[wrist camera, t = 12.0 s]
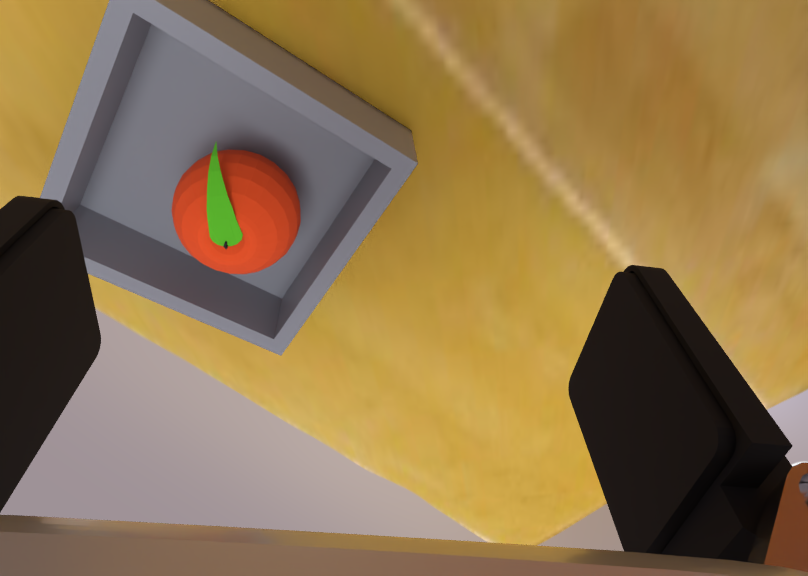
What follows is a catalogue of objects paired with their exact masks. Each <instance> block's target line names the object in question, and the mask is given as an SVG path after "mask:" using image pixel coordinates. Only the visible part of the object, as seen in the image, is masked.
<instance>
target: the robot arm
mask: <svg viewBox="0 0 808 576" xmlns="http://www.w3.org/2000/svg"><path fill="white" fill-rule="evenodd" d="M100 344H101V335H100V330H99V325H98V320H97V316H96V311H95V306H94V301H93V297H92V292H91V287H90V283H89V278H88V273H87V269H86V264H85V259H84V255H83V250H82V245H81V240H80V236H79V231H78V226H77V222H76V218H75V215H74V214H73V212H72V211H70V210H65V208H64V206H63V205H62V203H61V202H59V201H58V200H52V199H43V198H34V197H26V196H17V197H15V198H13V199H12V200H11V201H10V202H8V203H7V204H6V205H5V206H4V207H2V208H1V209H0V512H1V510H2V509H3V507H4V505H5V504H6V502H7V501H8V499H9V497H10V496H11V494H12V493H13V491H14V489H15V488H16V486H17V484H18V483H19V481H20V480H21V478H22V476H23V475H24V473H25V471H26V470H27V468H28V467H29V465H30V463H31V462H32V460H33V459H34V457H35V455H36V454H37V452H38V450H39V449H40V447H41V445H42V444H43V442H44V441H45V439H46V437H47V436H48V434H49V433H50V431H51V430H52V428H53V426H54V425H55V423H56V421H57V420H58V418H59V417H60V415H61V413H62V412H63V410H64V408H65V407H66V405H67V404H68V402H69V400H70V399H71V397H72V396H73V394H74V392H75V391H76V389H77V388H78V386H79V384H80V383H81V381H82V379H83V378H84V376H85V374H86V373H87V371H88V370H89V368H90V367H91V365H92V363H93V362H94V360H95V358H96V357H97V355H98V352H99V349H100ZM569 396H570V400H571V403H572V406H573V408H574V411H575V414H576V417H577V420H578V422H579V425H580V428H581V431H582V434H583V437H584V439H585V442H586V445H587V448H588V451H589V453H590V456H591V459H592V462H593V465H594V468H595V470H596V473H597V476H598V479H599V482H600V484H601V487H602V490H603V493H604V496H605V499H606V501H607V504H608V507H609V510H610V513H611V515H612V518H613V521H614V524H615V527H616V530H617V532H618V535H619V538H620V541H621V544H622V546H623V549H624V551H610V550H594V549H580V548H563V547H549V546H534V545H518V544H503V543H487V542H486V543H485V542H471V541H456V540H440V539H424V538H407V537H391V536H390V537H389V536H374V535H357V534H340V533H323V532H306V531H289V530H272V529H255V528H237V527H220V526H201V525H184V524H166V523H165V524H164V523H147V522H128V521H111V520H92V519H74V518H54V517H53V518H52V517H37V516H17V515H0V576H808V463H800V464H798V465H796V466H793V467H792V465H791V464H790V463H789V461H788V460H787V458H786V457H785V455H786V453H787V452H788V451H789V450H790V449H791V447H792V445H791V443H790V442H789V440H788V439H787V438H786V437H785V435H784V434H783V432H782V431H781V429H780V428H779V427H778V425H777V424H776V422H775V421H774V420H773V418H772V417H771V416H770V414H769V413H768V411H767V410H766V409H765V407H764V406H763V404H762V403H761V402H760V400H759V399H758V398H757V396H756V395H755V393H754V392H753V391H752V389H751V388H750V386H749V385H748V384H747V382H746V381H745V379H744V378H743V377H742V375H741V374H740V373H739V371H738V370H737V368H736V367H735V366H734V364H733V363H732V361H731V360H730V359H729V357H728V356H727V355H726V353H725V352H724V350H723V349H722V348H721V346H720V345H719V343H718V342H717V341H716V339H715V338H714V337H713V335H712V334H711V332H710V331H709V330H708V328H707V327H706V325H705V324H704V323H703V321H702V320H701V319H700V317H699V316H698V314H697V313H696V312H695V310H694V309H693V307H692V306H691V305H690V303H689V302H688V301H687V299H686V298H685V296H684V295H683V294H682V292H681V291H680V289H679V288H678V287H677V285H676V284H675V283H674V281H673V280H672V278H671V277H670V276H669V274H668V273H667V272H666V271H665V270H664V269H661V268H654V267H645V266H636V265H631V266H628V267H627V268H626V269H625V270H624V272H618V273H617V274H616V275H615V276H614V278H613V280H612V282H611V284H610V287H609V289H608V291H607V294H606V296H605V298H604V301H603V303H602V305H601V308H600V310H599V312H598V315H597V317H596V319H595V321H594V324H593V326H592V328H591V331H590V333H589V335H588V338H587V340H586V342H585V345H584V347H583V349H582V352H581V354H580V356H579V359H578V361H577V363H576V366H575V368H574V370H573V373H572V375H571V377H570V381H569Z"/></svg>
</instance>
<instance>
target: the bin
mask: <svg viewBox="0 0 808 576" xmlns="http://www.w3.org/2000/svg"><path fill="white" fill-rule="evenodd" d="M216 142H217V152H218V151H222V150H227V149H229V150H246V151H250V152H253V153H256V154H260V155H262V156H264V157H265V158H267V159H269V160H271V161H272V162H274V163H275V164H276V165H277V166H278V167H279V168H280V169H281V170H283V171H284V172H285V173H286V174H287V175H288V177H289V179H290V180H291V182H292V183H293V185H294V186H295V188H296V191H297V195H298V198H299V201H300V216H301V223H300V227H299V230H298V234H297V236H296V239H295V241H294V243H293V244H292V246H291V247H290V249H289V250H288V252H287V253H286V254H285V255H284V256H283V257H282V258H281V259H279V260H278V261H277V262H276V263H274V264H273V265H271V266H269V267H267V268H265V269H263V270H261V271H258V272H254V273H249V274H229V273H225V272H221V271H217V270H214V269H212V268H210V267H208V266H206V265H204V264H202V263H201V262H199V261H198V260H197V259H195V258H194V257H193V256H192V255H191V254H190V253H189V252H188V251H187V250H186V248H185V247H184V246H183V245H182V243H181V241H180V239H179V237H178V235H177V233H176V230H175V227H174V223H173V217H172V211H171V210H172V203H173V196H174V192H175V189H176V186H177V184H178V183H179V181H180V179H181V177H182V175H183V174H184V173H185V172H186V171H187V170H188V169H189V168H190V167H191V166H192V165H193V164H194V163H195V162H196V161H198V160H199V159H201V158H203V157H205V156H207V155H208V154H210V153H212V152H213V149H214V146H215V143H216ZM417 164H418V161H417V156H416V152H415V147H414V142H413V137H412V132H411V130H409V129H408V128H406V127H405V126H403V125H402V124H400V123H398V122H397V121H395V120H394V119H392V118H391V117H389V116H388V115H386V114H384V113H383V112H381V111H380V110H378V109H377V108H375V107H374V106H372V105H370V104H369V103H367V102H366V101H364V100H363V99H361V98H360V97H358V96H356V95H355V94H353V93H352V92H350V91H349V90H347V89H346V88H344V87H342V86H341V85H339V84H338V83H336V82H335V81H333V80H332V79H330V78H328V77H327V76H325V75H324V74H322V73H321V72H319V71H318V70H316V69H314V68H313V67H311V66H310V65H308V64H307V63H305V62H304V61H302V60H300V59H299V58H297V57H296V56H294V55H293V54H291V53H290V52H288V51H286V50H285V49H283V48H282V47H280V46H279V45H277V44H276V43H274V42H272V41H271V40H269V39H268V38H266V37H265V36H263V35H262V34H260V33H258V32H257V31H255V30H254V29H252V28H251V27H249V26H248V25H246V24H244V23H243V22H241V21H240V20H238V19H237V18H235V17H234V16H232V15H230V14H229V13H227V12H226V11H224V10H223V9H221V8H220V7H218V6H216V5H215V4H213V3H212V2H210V1H209V0H109V3H108V6H107V9H106V12H105V15H104V17H103V20H102V23H101V26H100V29H99V32H98V34H97V37H96V40H95V43H94V46H93V49H92V51H91V54H90V57H89V60H88V63H87V66H86V69H85V71H84V74H83V77H82V80H81V83H80V86H79V88H78V91H77V94H76V97H75V100H74V103H73V106H72V108H71V111H70V114H69V117H68V120H67V123H66V125H65V128H64V131H63V134H62V137H61V140H60V142H59V145H58V148H57V151H56V154H55V157H54V160H53V162H52V165H51V168H50V171H49V174H48V177H47V179H46V182H45V185H44V188H43V191H42V194H41V196H40V198H43V199H52V200H58V201H59V202H61V203H62V205H63V206H64V208H65V210H70V211H72V212H73V214H74V215H75V218H76V222H77V226H78V231H79V236H80V240H81V245H82V250H83V255H84V259H85V264H86V269H87V273H88V274H90V275H93V276H95V277H97V278H100V279H102V280H105V281H107V282H109V283H112V284H114V285H116V286H119V287H121V288H123V289H126V290H128V291H130V292H133V293H135V294H137V295H140V296H142V297H144V298H147V299H149V300H152V301H154V302H156V303H159V304H161V305H163V306H166V307H168V308H170V309H173V310H175V311H177V312H180V313H182V314H184V315H187V316H189V317H191V318H194V319H196V320H198V321H201V322H203V323H206V324H208V325H210V326H213V327H215V328H217V329H220V330H222V331H224V332H227V333H229V334H231V335H234V336H236V337H238V338H241V339H243V340H245V341H248V342H250V343H252V344H255V345H257V346H260V347H262V348H264V349H267V350H269V351H271V352H274V353H276V354H278V355H282V354H283V352H284V351H285V349H286V348H287V347H288V345H289V344H290V342H291V341H292V340H293V338H294V337H295V335H296V334H297V333H298V331H299V330H300V328H301V327H302V326H303V324H304V323H305V321H306V320H307V318H308V317H309V316H310V314H311V313H312V311H313V310H314V309H315V307H316V306H317V304H318V303H319V302H320V300H321V299H322V297H323V296H324V295H325V293H326V292H327V290H328V289H329V288H330V286H331V285H332V283H333V282H334V281H335V279H336V278H337V276H338V275H339V274H340V272H341V271H342V269H343V268H344V267H345V265H346V264H347V262H348V261H349V260H350V258H351V257H352V255H353V254H354V253H355V251H356V250H357V248H358V247H359V245H360V244H361V243H362V241H363V240H364V238H365V237H366V236H367V234H368V233H369V231H370V230H371V229H372V227H373V226H374V224H375V223H376V222H377V220H378V219H379V217H380V216H381V215H382V213H383V212H384V210H385V209H386V208H387V206H388V205H389V203H390V202H391V201H392V199H393V198H394V196H395V195H396V194H397V192H398V191H399V189H400V188H401V187H402V185H403V184H404V182H405V181H406V180H407V178H408V177H409V175H410V174H411V173H412V171H413V170H414V168H415V167H416V165H417Z"/></svg>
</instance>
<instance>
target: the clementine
mask: <svg viewBox="0 0 808 576" xmlns="http://www.w3.org/2000/svg"><path fill="white" fill-rule="evenodd" d="M171 211H172V217H173V223H174V227H175V230H176V233H177V235H178V237H179V239H180V241H181V243H182V245H183V246H184V247H185V248H186V250H187V251H188V252H189V253H190V254H191V255H192V256H193V257H194V258H195V259H197V260H198V261H199V262H201V263H202V264H204V265H206V266H208V267H210V268H212V269H214V270H217V271H221V272H225V273H229V274H249V273H254V272H258V271H261V270H263V269H265V268H267V267H269V266H271V265H273V264H274V263H276V262H277V261H278V260H279V259H281V258H282V257H283V256H284V255H285V254H286V253H287V252H288V250H289V249H290V247H291V246H292V244H293V243H294V241H295V239H296V236H297V234H298V230H299V227H300V223H301V216H300V201H299V198H298V195H297V191H296V188H295V186H294V185H293V183H292V182H291V180H290V179H289V177H288V175H287V174H286V173H285V172H284V171H283V170H281V169H280V168H279V167H278V166H277V165H276V164H275V163H274V162H272V161H271V160H269V159H267V158H265V157H264V156H262V155H260V154H256V153H253V152H250V151H246V150H229V149H227V150H222V151H218V152H217V142H216V143H215V146H214V149H213V152H212V153H210V154H208V155H207V156H205V157H203V158H201V159H199V160H198V161H196V162H195V163H194V164H193V165H192V166H191V167H190V168H189V169H188V170H187V171H186V172H185V173H184V174H183V175H182V177H181V179H180V181H179V183H178V184H177V186H176V189H175V192H174V196H173V203H172V210H171Z"/></svg>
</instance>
